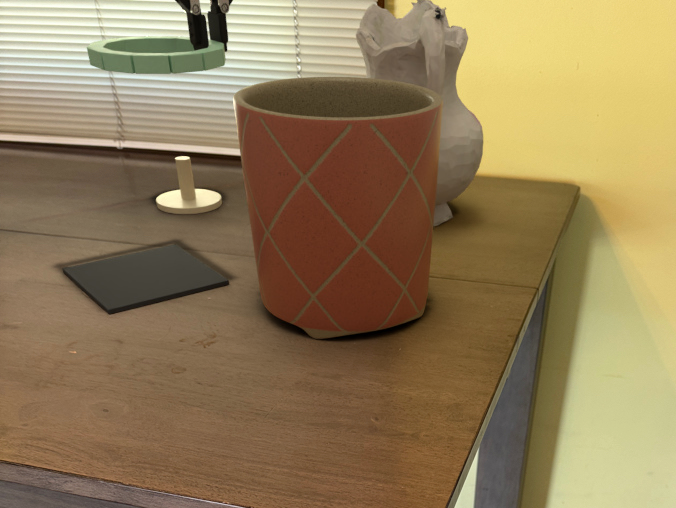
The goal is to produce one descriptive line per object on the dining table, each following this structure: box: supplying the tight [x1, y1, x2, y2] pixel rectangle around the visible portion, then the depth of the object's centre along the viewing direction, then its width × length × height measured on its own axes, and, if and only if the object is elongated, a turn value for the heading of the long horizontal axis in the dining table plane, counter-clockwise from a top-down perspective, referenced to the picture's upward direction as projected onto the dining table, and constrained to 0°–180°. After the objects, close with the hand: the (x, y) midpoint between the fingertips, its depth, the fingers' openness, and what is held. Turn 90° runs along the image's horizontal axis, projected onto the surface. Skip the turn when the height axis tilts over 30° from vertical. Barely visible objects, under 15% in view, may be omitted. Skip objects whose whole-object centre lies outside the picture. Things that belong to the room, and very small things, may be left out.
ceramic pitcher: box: [355, 0, 484, 227], centre depth 97 cm, size 22×20×25 cm
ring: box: [86, 35, 227, 75], centre depth 92 cm, size 16×16×2 cm
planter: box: [232, 76, 443, 340], centre depth 75 cm, size 19×19×20 cm
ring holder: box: [155, 155, 223, 215], centre depth 105 cm, size 9×9×6 cm
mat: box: [62, 243, 230, 315], centre depth 86 cm, size 14×14×1 cm
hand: (210, 50), depth 95 cm, fingers closed on ring, 1 cm apart
